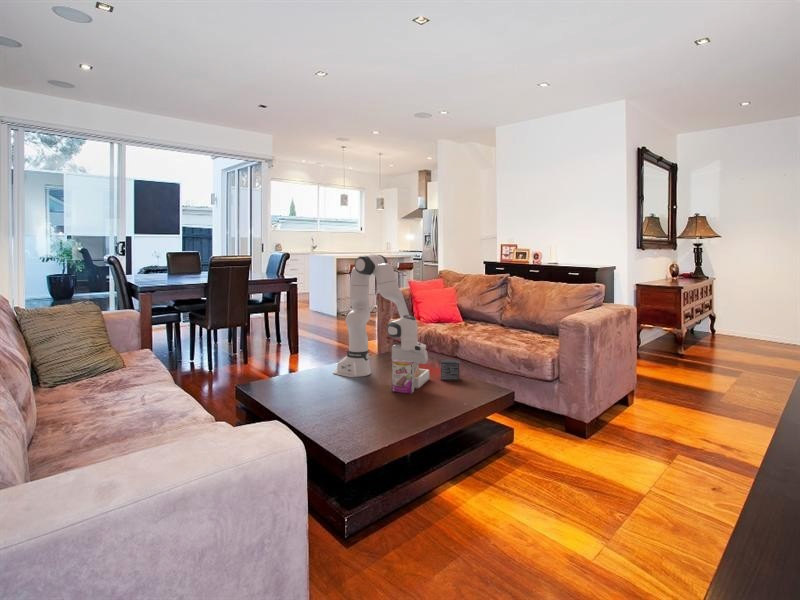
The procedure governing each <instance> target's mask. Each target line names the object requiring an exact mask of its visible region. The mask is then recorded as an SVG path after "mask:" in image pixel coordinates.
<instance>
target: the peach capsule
mask: <svg viewBox="0 0 800 600" xmlns="http://www.w3.org/2000/svg"><path fill="white" fill-rule="evenodd" d="M415 367H416V365H415ZM419 369H420V366H419V365H418V367H417V371H415V373H414V377H415V378H418V377H419Z"/></svg>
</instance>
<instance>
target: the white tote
mask: <svg viewBox="0 0 800 600" xmlns="http://www.w3.org/2000/svg"><path fill="white" fill-rule="evenodd" d="M429 380H430V369H425V368H419V377H418V378H415V377H414V389H420V388H421V387H423V385H424V384H426V383H427V382H428V381H429Z"/></svg>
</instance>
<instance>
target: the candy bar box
mask: <svg viewBox="0 0 800 600" xmlns="http://www.w3.org/2000/svg"><path fill="white" fill-rule="evenodd" d="M414 369H415V362H414V361H406V360H397V359H395V360H393V361H392V360H391V392H393V393H400V394H401V393H402V394H409V395H412V394H413V393H414V392H415V388H414Z"/></svg>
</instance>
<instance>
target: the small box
mask: <svg viewBox="0 0 800 600" xmlns="http://www.w3.org/2000/svg"><path fill="white" fill-rule="evenodd" d="M449 380H450V381H452V382H453V381H455V382H459V381H460V360H455V359H454V360H453V359H452V360H450V359H441V360H440V381H449Z"/></svg>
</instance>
